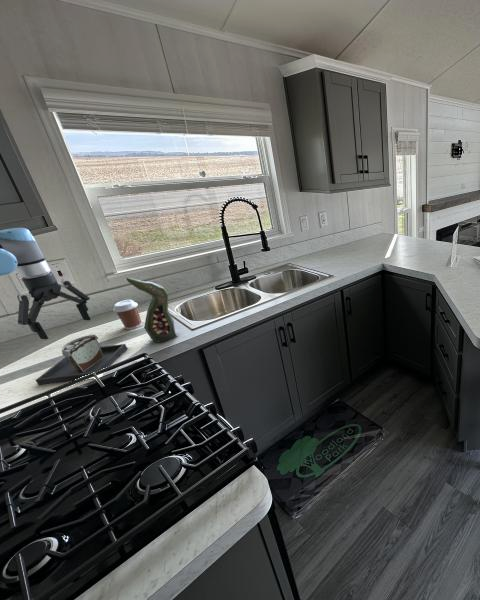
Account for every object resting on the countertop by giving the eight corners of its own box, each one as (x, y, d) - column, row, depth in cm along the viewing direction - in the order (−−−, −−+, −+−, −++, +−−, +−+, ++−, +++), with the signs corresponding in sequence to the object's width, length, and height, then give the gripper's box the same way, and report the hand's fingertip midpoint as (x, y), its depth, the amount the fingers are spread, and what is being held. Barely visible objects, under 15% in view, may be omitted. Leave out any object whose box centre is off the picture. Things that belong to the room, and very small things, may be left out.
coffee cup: (122, 332, 149) (111, 309, 144) (121, 325, 155) (110, 302, 150) (146, 325, 154) (136, 302, 149) (144, 319, 161) (134, 296, 156)
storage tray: (96, 378, 119) (93, 373, 118) (38, 385, 116) (35, 380, 115) (127, 348, 136) (125, 343, 135) (77, 354, 134) (75, 349, 133)
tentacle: (147, 340, 142) (119, 276, 129) (178, 328, 151) (154, 267, 138) (155, 346, 137) (127, 280, 124) (186, 334, 146) (163, 271, 133)
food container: (92, 355, 132) (80, 334, 128) (106, 355, 132) (96, 334, 127) (63, 375, 121) (50, 352, 116) (79, 374, 121) (66, 352, 116)
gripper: (70, 261, 122) (95, 312, 131) (-22, 288, 100) (16, 346, 110) (85, 262, 120) (109, 313, 129) (-6, 290, 98) (31, 348, 108)
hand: (67, 328), depth 119 cm, fingers open, 13 cm apart
